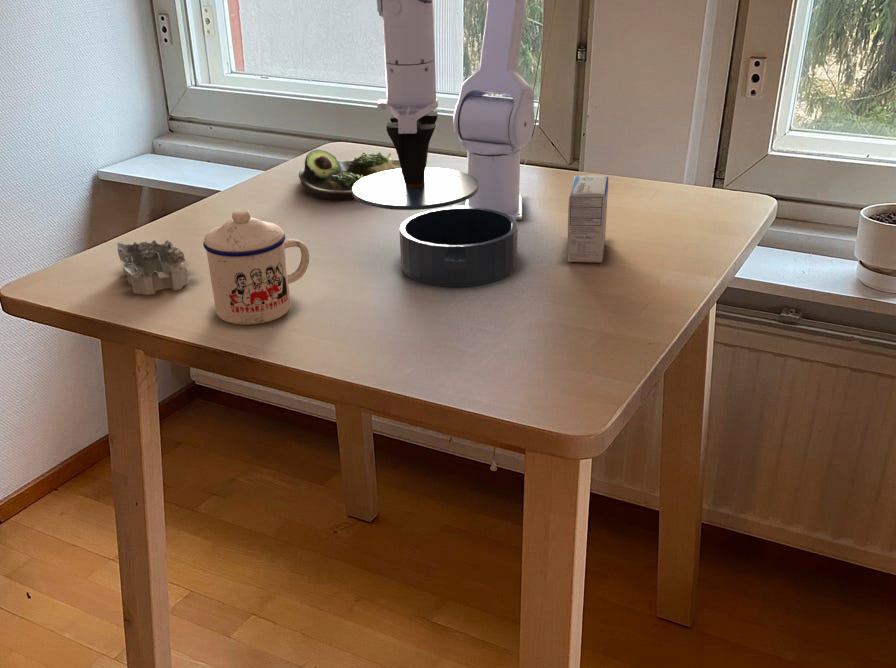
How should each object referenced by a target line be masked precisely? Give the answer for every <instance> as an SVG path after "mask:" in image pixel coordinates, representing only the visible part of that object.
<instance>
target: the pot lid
mask: <svg viewBox="0 0 896 668" xmlns="http://www.w3.org/2000/svg"><path fill="white" fill-rule="evenodd" d="M478 188H479V184H478V181H477V180H476V179H475V178H474V177H473V176H471V175H469V174H468V172H464V171H460V170H456V169H451V168H445V167H433V166H432V167H431V166H426V169H425V173H424V178H423V182H422V184H405V182H404V179H403V175H402V171H401V169H393V170H387V171H382V172H378V173H375V174H371V175H369V176H366V177H364V178H362V179H360V180H358V181H357V182H356V183H355V184H354V185H353V187H352V194H353V196H354V198H355V200H356V201H358V202H360V203H362V204H364V205H366V206H370V207H373V208H378V209H384V210H397V211H419V210H433V209H440V208H445V207H449V206H454V205H456V204H460V203H462V202H464V201H465V202H466V200H467V199H469V198H471V197H472V196H474V195H475V194H476V193H477V191H478Z"/></svg>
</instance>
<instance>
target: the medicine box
mask: <svg viewBox="0 0 896 668" xmlns="http://www.w3.org/2000/svg"><path fill="white" fill-rule="evenodd" d="M608 193H609V177H608V176H607V175H589V174H588V175H575V176H574V177H573V182H572V186H571V190H570V193H569V196H568V209H567V210H568V211H567V212H568V213H567V214H568V215H567V216H568V217H567V243H566V244H567V245H566V246H567V251H566V259H567V260H566V261H567V262H570V263H592V264H593V263H595V264H601V263H602V262H603V259H604V251H605V244H606V243H605V242H606V233H607V232H606V230H607V214H608V213H607V212H608V195H609V194H608Z"/></svg>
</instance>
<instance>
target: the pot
mask: <svg viewBox="0 0 896 668" xmlns="http://www.w3.org/2000/svg"><path fill="white" fill-rule="evenodd" d="M399 247H400V249H399V250H400V264H401V270H402V272H403V273H404V274H405V275H406V276H407V277H408V278H410V279H411V280H414V281H416V282H419V283H420V284H425V285H430V286H436V287H445V288H447V287H448V288H463V287H464V288H465V287H475V286H481V285H482V286H483V285H487V284H492V283H494V282H497V281H500V280H503V279H504V278H507V277H508V276H510V275H511V274H512V273H513V272H514V271H515V270H516V268H517V264H518V222H517V220H514V218H512V217H511V216H509V215H507V214H505V213H502V212H499V211H495V210H490V209H484V208H474V207H471V206H466V205H452V207H440V208H434V209H429V210H426V211H423V212H419V213H416V214H413V215H412V216H410V217H408V218H406V219H405V220H404V221H402V222H401V223H400V227H399Z"/></svg>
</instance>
